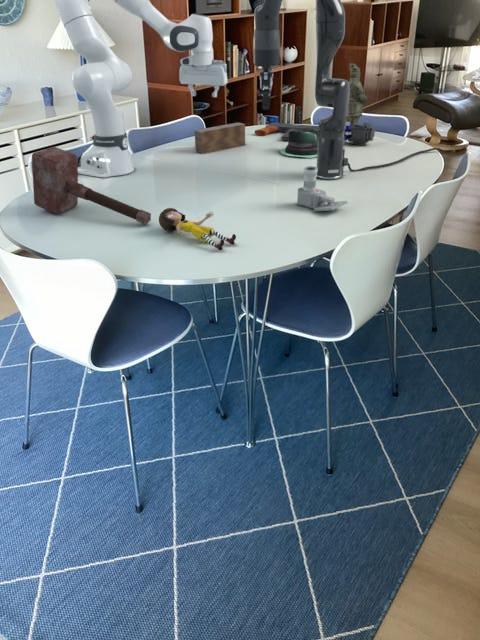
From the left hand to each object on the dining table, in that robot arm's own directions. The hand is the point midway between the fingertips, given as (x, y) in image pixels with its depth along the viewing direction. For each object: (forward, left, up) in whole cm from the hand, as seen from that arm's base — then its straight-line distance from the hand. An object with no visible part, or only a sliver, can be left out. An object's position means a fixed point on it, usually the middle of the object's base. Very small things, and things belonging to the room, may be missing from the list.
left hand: (204, 96), depth 229 cm
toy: (+60, +29, -22) cm, 70 cm away
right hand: (+44, -57, +7) cm, 72 cm away
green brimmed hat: (+41, +8, -22) cm, 47 cm away
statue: (+55, +55, -22) cm, 81 cm away
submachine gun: (+27, +39, -22) cm, 52 cm away
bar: (+4, +7, -22) cm, 24 cm away
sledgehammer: (-3, -85, -22) cm, 88 cm away
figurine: (+34, -93, -22) cm, 102 cm away
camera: (+62, -59, -22) cm, 89 cm away
